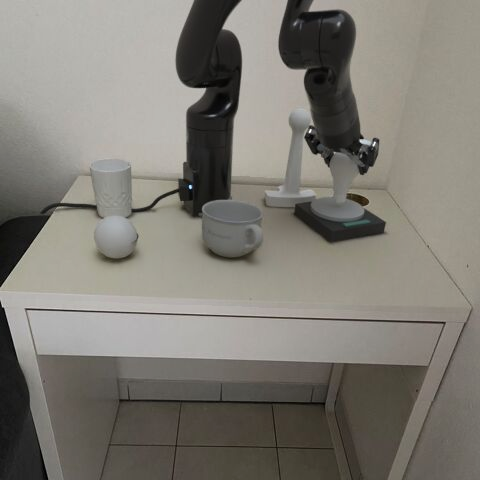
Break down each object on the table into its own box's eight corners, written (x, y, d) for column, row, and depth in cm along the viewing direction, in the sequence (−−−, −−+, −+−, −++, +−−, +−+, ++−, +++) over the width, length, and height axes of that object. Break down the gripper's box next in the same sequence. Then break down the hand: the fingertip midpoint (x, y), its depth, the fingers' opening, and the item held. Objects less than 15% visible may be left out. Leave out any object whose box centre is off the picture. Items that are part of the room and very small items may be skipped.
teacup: (193, 240, 93) (193, 200, 88) (246, 233, 97) (248, 194, 92) (220, 277, 83) (222, 233, 78) (278, 267, 86) (282, 225, 82)
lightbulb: (353, 211, 98) (364, 155, 92) (322, 207, 99) (331, 151, 93) (353, 200, 103) (364, 146, 97) (324, 196, 104) (333, 143, 98)
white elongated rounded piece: (131, 268, 83) (127, 228, 79) (89, 263, 84) (83, 223, 80) (149, 242, 91) (147, 205, 87) (111, 237, 92) (107, 200, 88)
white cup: (131, 204, 105) (128, 157, 99) (137, 219, 99) (133, 170, 93) (93, 207, 103) (87, 159, 97) (97, 222, 97) (90, 172, 91)
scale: (330, 242, 95) (332, 227, 94) (294, 214, 106) (295, 199, 104) (383, 233, 100) (387, 218, 98) (344, 206, 110) (346, 193, 109)
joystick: (267, 207, 108) (276, 110, 96) (260, 194, 114) (268, 101, 102) (316, 206, 109) (330, 111, 98) (307, 193, 115) (319, 102, 104)
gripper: (384, 102, 81) (389, 158, 96) (304, 89, 86) (321, 144, 102) (367, 142, 80) (375, 192, 95) (288, 126, 85) (307, 176, 101)
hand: (347, 167), depth 98 cm, fingers closed on lightbulb, 6 cm apart
